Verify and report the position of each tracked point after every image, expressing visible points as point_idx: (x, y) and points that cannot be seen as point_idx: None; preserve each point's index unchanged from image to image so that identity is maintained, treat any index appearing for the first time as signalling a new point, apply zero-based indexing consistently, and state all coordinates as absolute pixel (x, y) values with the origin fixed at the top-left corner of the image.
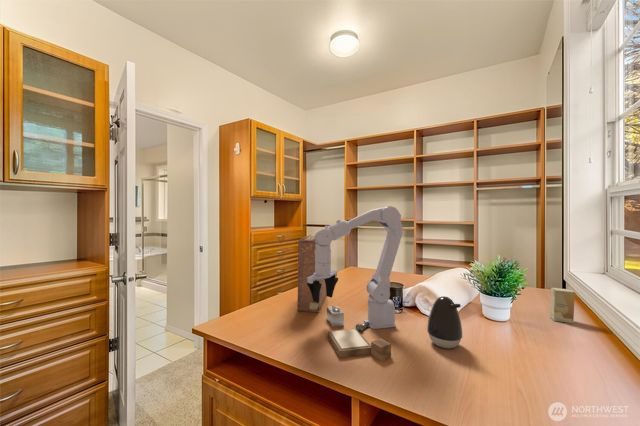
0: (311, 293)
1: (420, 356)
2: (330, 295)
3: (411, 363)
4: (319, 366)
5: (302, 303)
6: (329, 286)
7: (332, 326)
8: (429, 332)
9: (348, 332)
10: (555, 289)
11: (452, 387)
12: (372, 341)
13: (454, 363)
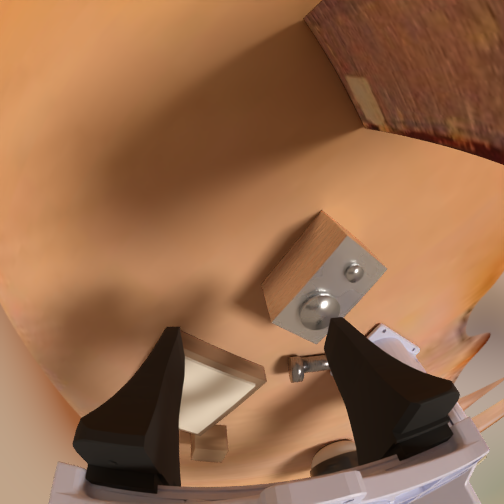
0: (141, 367)
1: (263, 452)
2: (328, 353)
3: (228, 454)
4: (69, 381)
5: (335, 33)
6: (357, 393)
7: (262, 285)
8: (322, 464)
9: (218, 387)
10: (478, 462)
11: (212, 477)
12: (198, 449)
13: (276, 468)
